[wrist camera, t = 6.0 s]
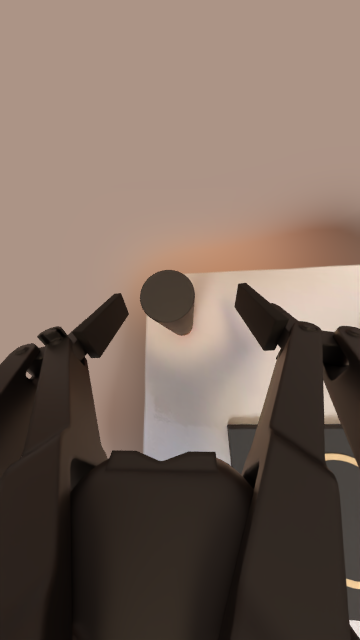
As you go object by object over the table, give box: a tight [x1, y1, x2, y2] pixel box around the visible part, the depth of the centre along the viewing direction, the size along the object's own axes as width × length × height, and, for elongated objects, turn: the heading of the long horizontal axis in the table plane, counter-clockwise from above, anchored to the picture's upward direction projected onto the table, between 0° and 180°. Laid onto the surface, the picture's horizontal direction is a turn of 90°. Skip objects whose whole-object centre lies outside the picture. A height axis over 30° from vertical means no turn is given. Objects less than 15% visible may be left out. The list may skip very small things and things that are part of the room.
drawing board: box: [227, 425, 360, 621], centre depth 14 cm, size 22×16×1 cm
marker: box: [140, 270, 195, 336], centre depth 13 cm, size 3×3×13 cm
